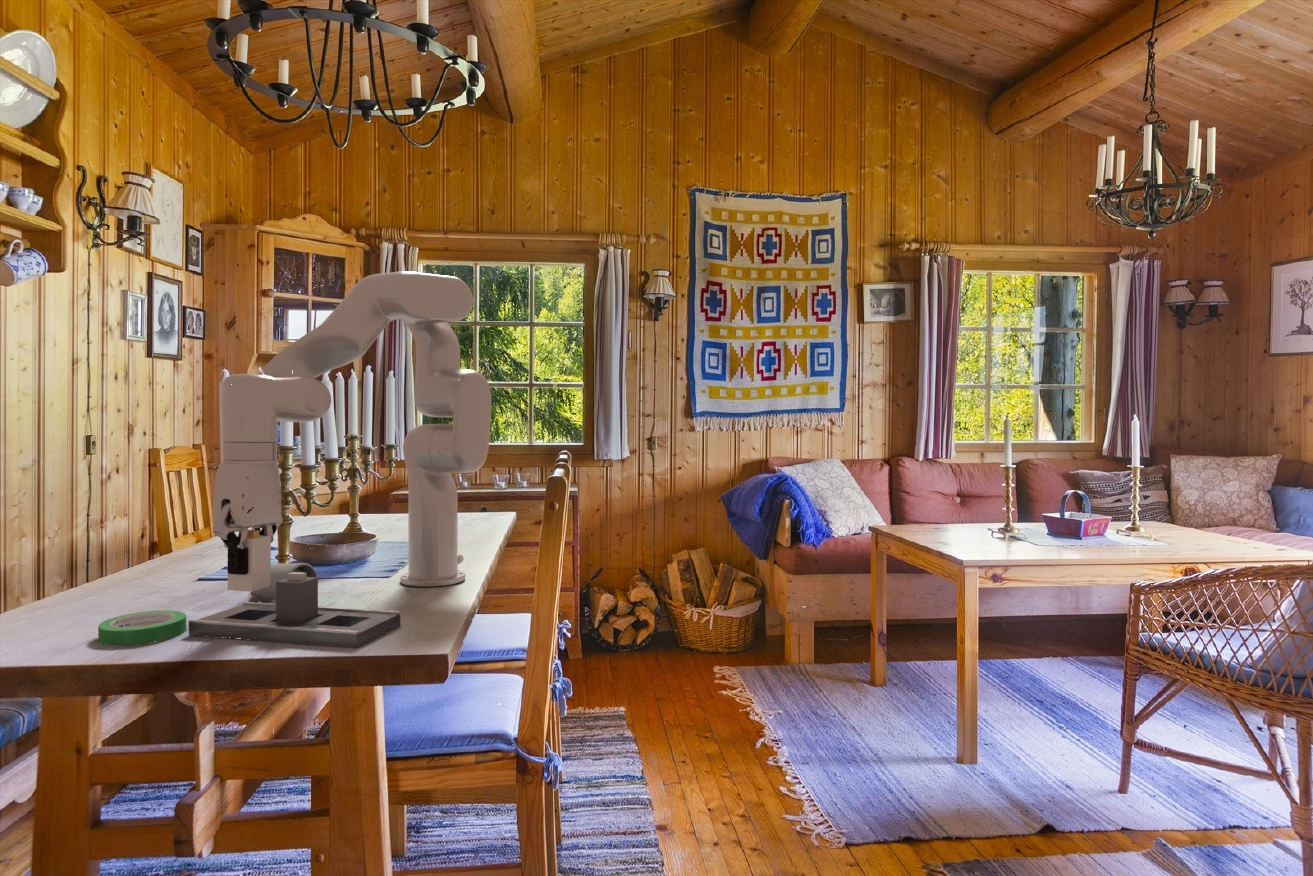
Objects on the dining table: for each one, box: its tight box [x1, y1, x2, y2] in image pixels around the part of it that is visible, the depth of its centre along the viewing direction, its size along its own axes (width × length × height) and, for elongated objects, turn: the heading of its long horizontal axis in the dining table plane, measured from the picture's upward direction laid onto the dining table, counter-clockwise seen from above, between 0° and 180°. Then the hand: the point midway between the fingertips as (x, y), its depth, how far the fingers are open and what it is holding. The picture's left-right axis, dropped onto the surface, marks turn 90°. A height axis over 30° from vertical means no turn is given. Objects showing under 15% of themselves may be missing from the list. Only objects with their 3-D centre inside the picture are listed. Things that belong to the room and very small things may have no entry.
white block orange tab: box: [227, 529, 272, 592], centre depth 121 cm, size 4×4×9 cm
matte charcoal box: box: [276, 572, 319, 624], centre depth 120 cm, size 4×4×9 cm
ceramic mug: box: [247, 562, 318, 604], centre depth 134 cm, size 11×8×8 cm
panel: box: [188, 601, 401, 649], centre depth 120 cm, size 12×28×2 cm, turn 79°
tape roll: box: [97, 609, 187, 647], centre depth 117 cm, size 11×11×3 cm
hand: (249, 569), depth 121 cm, fingers closed on white block orange tab, 4 cm apart
